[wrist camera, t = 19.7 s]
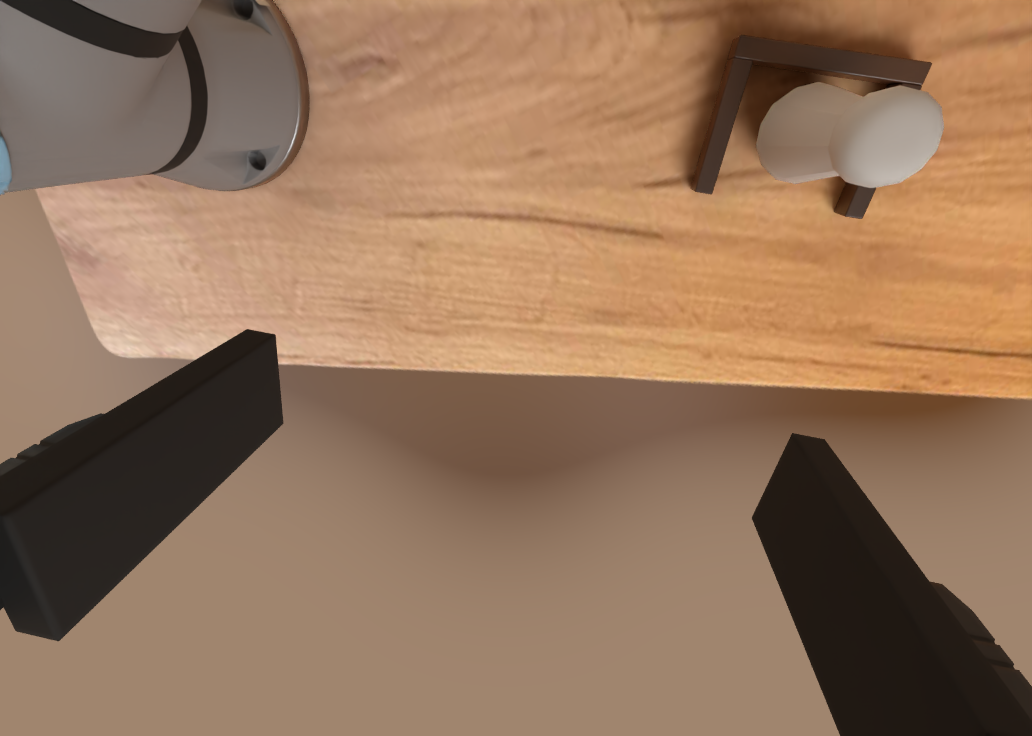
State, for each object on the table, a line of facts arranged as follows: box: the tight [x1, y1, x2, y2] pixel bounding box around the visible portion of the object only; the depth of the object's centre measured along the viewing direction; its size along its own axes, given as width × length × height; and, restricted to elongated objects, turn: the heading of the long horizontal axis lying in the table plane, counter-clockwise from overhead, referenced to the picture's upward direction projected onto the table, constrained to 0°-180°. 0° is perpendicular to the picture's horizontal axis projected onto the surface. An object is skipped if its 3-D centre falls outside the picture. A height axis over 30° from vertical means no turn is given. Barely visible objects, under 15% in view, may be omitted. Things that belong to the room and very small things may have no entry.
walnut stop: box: [691, 35, 932, 219], centre depth 33 cm, size 11×9×2 cm
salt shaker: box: [756, 82, 944, 188], centre depth 28 cm, size 6×6×13 cm
